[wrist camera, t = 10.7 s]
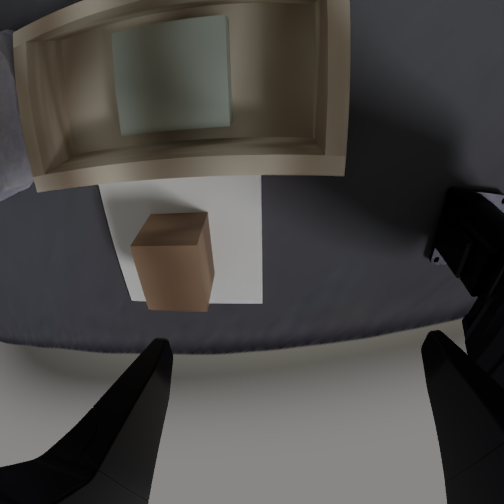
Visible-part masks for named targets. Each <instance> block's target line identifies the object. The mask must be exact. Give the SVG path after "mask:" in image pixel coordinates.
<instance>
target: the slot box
mask: <svg viewBox="0 0 504 504" xmlns="http://www.w3.org/2000/svg"><path fill="white" fill-rule="evenodd" d="M13 53H14V68H15V80H16V89H17V97H18V105H19V111H20V118H21V124H22V129H23V134H24V140H25V144H26V149H27V154H28V158H29V162H30V167H31V171H32V175H33V178H34V182H35V186H36V189H37V192H44V191H51V190H58V189H65V188H73V187H81V186H90V185H99V184H108V183H118V182H129V181H140V180H153V179H168V178H184V177H205V176H234V175H321V176H344V173H345V161H346V149H347V135H348V118H349V96H350V0H83V1H80V2H78V3H75V4H73V5H70V6H68V7H65V8H63V9H60V10H58V11H56V12H54V13H51V14H49V15H47V16H45V17H43V18H41V19H38V20H36V21H34V22H32V23H30V24H28V25H27V26H25V27H23V28H21V29H19V30H17V31H15V32H14V33H13Z"/></svg>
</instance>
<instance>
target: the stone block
mask: <svg viewBox="0 0 504 504" xmlns="http://www.w3.org/2000/svg"><path fill="white" fill-rule="evenodd" d="M14 32H15V31H13V30H8V29H6V30H3V31H1V32H0V201H2V200H4V199H6V198H8V197H10V196H12V195H14V194H16V193H17V192H19V191H23V190H25V189H26V188H29V187H30V185H31V184H32V183H33V182H34V178H33V175H32V171H31V167H30V162H29V158H28V154H27V149H26V144H25V140H24V134H23V129H22V124H21V118H20V111H19V105H18V97H17V89H16V80H15V68H14V53H13V33H14Z"/></svg>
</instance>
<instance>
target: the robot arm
mask: <svg viewBox="0 0 504 504" xmlns="http://www.w3.org/2000/svg"><path fill="white" fill-rule="evenodd" d="M453 193H455V194H454V196H452V195H453ZM502 199H503V200H502ZM435 258H436V259H435ZM429 260H430V262H431V263H432V264H433V265H448V266H449V268H450V269H451V271H452V272H453V274H454V275H455V277H456V278H460V280H461V281H462V283H463V284H464V286H465V287H466V289H467V290H468V292H469V293H470V295H471V296H472V297H475V296H477V297H478V298H477V300H476V301H475V303H474V305H473V306H472V308H471V310H470V311H469V313H468V314H467V315H465V317H464V318H463V320H462V324H463V329H464V335H465V344H466V349H467V354H468V355H467V354H466V353H465V352H464V351H463V350H462V349H461V348H459V347H458V346H457V345H456V344H455V343H454V342H453V341H452V340H451V339H449V338H448V337H447V336H446V335H445V334H444V333H443V332H441V331H440V330H435V331H430V332H429V333H428V335H427V337H426V339H425V341H424V343H423V345H422V348H421V353H422V359H423V364H424V371H425V378H426V384H427V389H428V394H429V398H430V403H431V407H432V411H433V416H434V421H435V425H436V430H437V435H438V441H439V446H440V452H441V458H442V464H443V471H444V478H445V486H446V496H447V504H504V194H503V193H496V192H489V191H482V190H474V189H465V188H457V187H451V188H450V189H449V190H448V191H447V195H446V199H445V203H444V207H443V211H442V215H441V217H440V221H439V225H438V228H437V232H436V235H435V239H434V242H433V247H432V250H431V253H430V257H429ZM172 365H173V353H172V350H171V347H170V344H169V341H168V339H166V338H155V339H154V340H153V341H152V342H151V343H150V344H149V345H148V347H147V348H146V349H145V350H144V351H143V352H142V353H141V354H140V355H139V356H138V358H137V359H136V360H135V361H134V362H133V363H132V364H131V365H130V366H129V367H128V369H127V370H126V371H125V372H124V373H123V374H122V375H121V376H120V377H119V378H118V380H117V381H116V382H115V383H114V384H113V385H112V386H111V387H110V388H109V390H108V391H107V392H106V393H105V394H104V395H103V396H102V397H101V398H100V400H99V401H98V402H97V403H96V404H95V405H94V406H93V408H91V410H90V411H89V412H88V413H87V414H86V415H85V416H84V417H83V418H82V419H81V421H79V423H78V424H77V425H76V426H75V427H74V428H72V429H71V430H70V431H69V432H68V433H67V434H66V435H65V436H64V437H63V438H62V439H60V440H59V441H58V442H57V443H56V444H55V445H54V446H52V447H51V448H50V449H49V450H48V451H47V452H45V453H44V454H43V455H41V456H40V457H38V458H36V459H34V460H30V461H27V462H23V463H18V464H14V465H9V466H4V467H0V504H148V500H149V495H150V489H151V484H152V479H153V474H154V468H155V463H156V458H157V453H158V448H159V443H160V438H161V434H162V429H163V424H164V420H165V415H166V410H167V406H168V400H169V394H170V384H171V375H172Z"/></svg>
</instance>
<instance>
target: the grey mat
mask: <svg viewBox="0 0 504 504" xmlns="http://www.w3.org/2000/svg"><path fill="white" fill-rule="evenodd" d="M99 189H100V193H101V198H102V202H103V206H104V210H105V214H106V218H107V221H108V225H109V229H110V232H111V236H112V240H113V243H114V247H115V250H116V253H117V257H118V260H119V263H120V266H121V270H122V273H123V276H124V279H125V282H126V285H127V288H128V291H129V294H130V297H131V299H132V301H146V299H145V296H144V293H143V290H142V286H141V283H140V280H139V276H138V273H137V270H136V266H135V263H134V259H133V255H132V252H131V248H130V246H131V244H132V242H133V241H134V239H135V237H136V236H137V234H138V233H139V231H140V230H141V228H142V226H143V225H144V223H145V222H146V220H147V219H148V217H149V216H150V214H167V213H197V212H208V219H209V228H210V237H211V246H212V254H213V263H214V271H215V275H214V280H213V285H212V290H211V295H210V300H209V303H234V304H262V208H261V175H234V176H205V177H184V178H168V179H153V180H140V181H129V182H118V183H108V184H99Z"/></svg>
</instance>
